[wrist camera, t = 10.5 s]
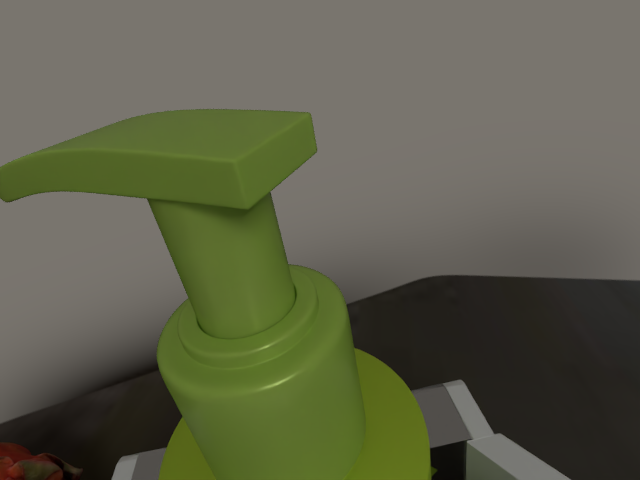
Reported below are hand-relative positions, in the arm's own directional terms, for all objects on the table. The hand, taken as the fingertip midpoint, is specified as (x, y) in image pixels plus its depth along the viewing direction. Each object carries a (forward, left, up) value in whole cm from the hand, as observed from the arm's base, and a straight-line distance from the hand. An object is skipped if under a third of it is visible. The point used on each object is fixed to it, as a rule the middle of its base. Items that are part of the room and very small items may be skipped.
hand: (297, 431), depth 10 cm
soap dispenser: (+1, 0, -12) cm, 12 cm away
